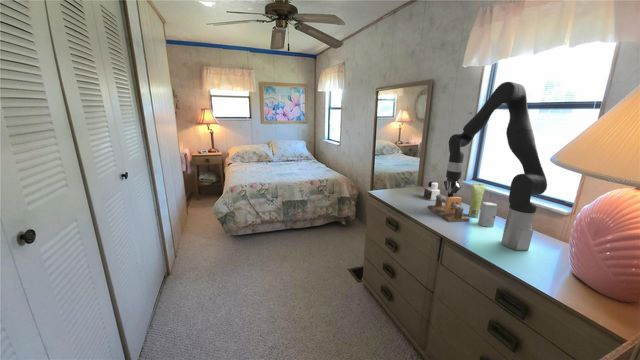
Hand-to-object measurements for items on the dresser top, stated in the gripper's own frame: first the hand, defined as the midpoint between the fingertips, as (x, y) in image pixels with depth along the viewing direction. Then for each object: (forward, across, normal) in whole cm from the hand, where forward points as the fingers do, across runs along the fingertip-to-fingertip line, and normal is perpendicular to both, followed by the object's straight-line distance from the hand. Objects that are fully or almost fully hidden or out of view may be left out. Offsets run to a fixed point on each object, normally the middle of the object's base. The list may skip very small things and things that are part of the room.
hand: (449, 199), depth 149 cm
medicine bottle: (+10, +28, -6) cm, 30 cm away
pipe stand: (+9, 0, 0) cm, 9 cm away
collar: (+6, -4, 0) cm, 7 cm away
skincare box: (+10, -16, -12) cm, 22 cm away
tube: (+10, -4, -14) cm, 17 cm away
